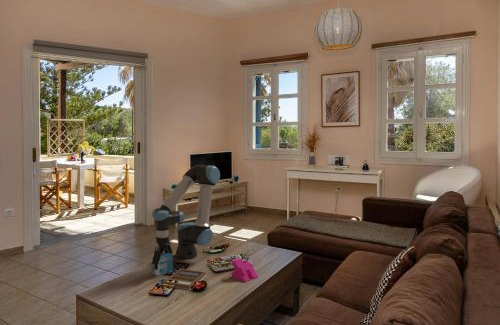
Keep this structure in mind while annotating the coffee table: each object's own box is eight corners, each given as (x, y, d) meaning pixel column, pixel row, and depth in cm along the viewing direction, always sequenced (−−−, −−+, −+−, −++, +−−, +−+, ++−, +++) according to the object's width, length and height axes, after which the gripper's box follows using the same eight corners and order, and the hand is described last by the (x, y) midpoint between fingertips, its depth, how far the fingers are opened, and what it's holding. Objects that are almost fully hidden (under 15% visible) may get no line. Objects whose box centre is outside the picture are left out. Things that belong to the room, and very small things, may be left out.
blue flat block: (156, 277, 227) (156, 258, 226) (152, 275, 230) (151, 256, 229) (173, 272, 236) (172, 253, 235) (168, 270, 239) (168, 251, 238)
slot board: (180, 272, 235) (180, 268, 235) (206, 276, 230) (206, 271, 230) (161, 286, 214) (161, 281, 214) (190, 290, 209) (190, 286, 209)
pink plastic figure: (232, 276, 230) (232, 260, 229) (244, 272, 237) (244, 256, 236) (245, 282, 222) (245, 265, 221) (258, 277, 229) (258, 261, 228)
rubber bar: (181, 274, 231) (181, 271, 230) (199, 276, 227) (199, 273, 227) (178, 276, 227) (178, 273, 227) (196, 279, 223) (196, 276, 223)
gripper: (167, 230, 244) (167, 263, 246) (145, 241, 220) (146, 276, 222) (177, 231, 242) (178, 264, 244) (157, 242, 218) (157, 278, 220)
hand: (162, 270), depth 233 cm, fingers closed on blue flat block, 13 cm apart
